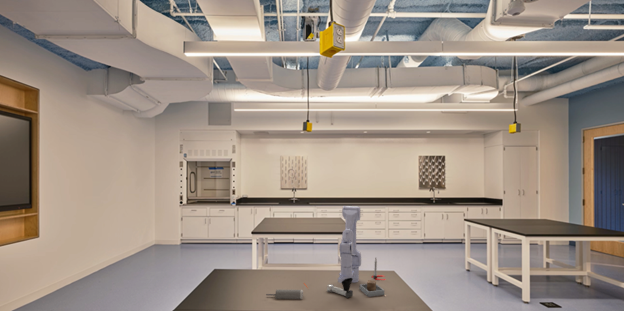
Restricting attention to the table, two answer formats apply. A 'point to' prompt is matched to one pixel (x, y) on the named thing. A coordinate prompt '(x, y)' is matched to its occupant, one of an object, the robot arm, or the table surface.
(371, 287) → the block
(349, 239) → the robot arm
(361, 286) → the tray
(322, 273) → the table surface
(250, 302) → the table surface
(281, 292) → the motor
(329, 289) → the crank lever
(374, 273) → the tow hook
